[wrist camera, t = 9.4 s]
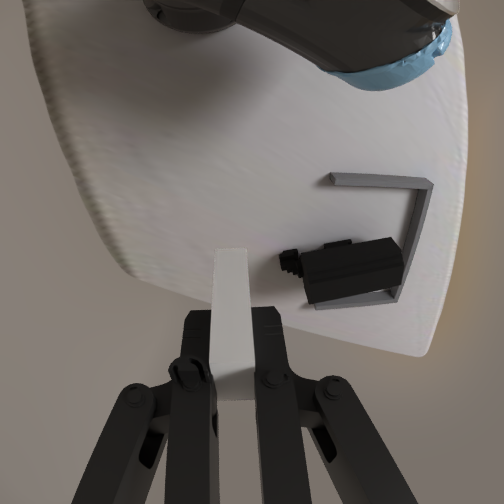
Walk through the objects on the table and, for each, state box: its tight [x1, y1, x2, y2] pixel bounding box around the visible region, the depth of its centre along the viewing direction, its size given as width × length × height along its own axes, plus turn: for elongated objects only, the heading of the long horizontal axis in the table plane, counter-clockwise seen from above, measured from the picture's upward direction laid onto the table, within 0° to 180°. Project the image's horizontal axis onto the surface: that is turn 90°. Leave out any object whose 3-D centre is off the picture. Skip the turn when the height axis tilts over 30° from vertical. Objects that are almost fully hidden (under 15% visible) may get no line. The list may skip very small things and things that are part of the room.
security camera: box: [279, 237, 405, 304], centre depth 47 cm, size 7×18×10 cm, turn 100°
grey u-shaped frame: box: [314, 173, 434, 310], centre depth 50 cm, size 25×17×2 cm
